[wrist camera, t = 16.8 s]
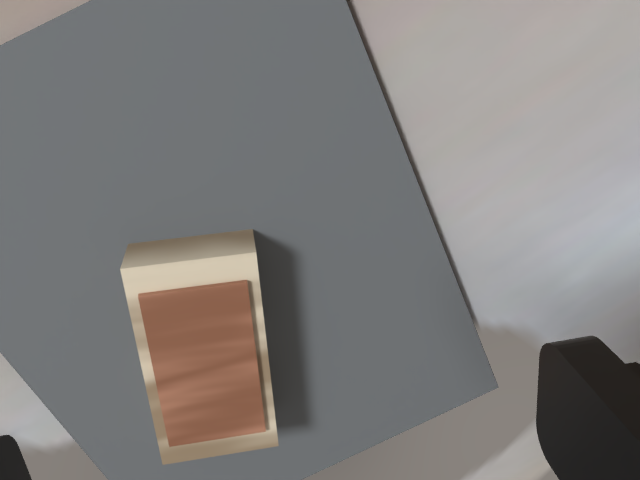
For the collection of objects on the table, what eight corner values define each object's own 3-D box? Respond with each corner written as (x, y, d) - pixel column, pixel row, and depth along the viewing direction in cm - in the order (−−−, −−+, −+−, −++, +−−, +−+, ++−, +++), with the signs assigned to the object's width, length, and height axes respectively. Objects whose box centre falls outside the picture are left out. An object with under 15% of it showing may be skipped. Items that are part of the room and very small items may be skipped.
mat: (302, -105, 27) (304, -106, 26) (494, 381, 40) (498, 387, 39) (-175, 133, 28) (-183, 136, 27) (163, 537, 40) (163, 544, 40)
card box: (279, 449, 34) (256, 254, 29) (162, 468, 33) (119, 271, 28) (273, 411, 37) (252, 229, 32) (166, 428, 36) (128, 243, 31)
